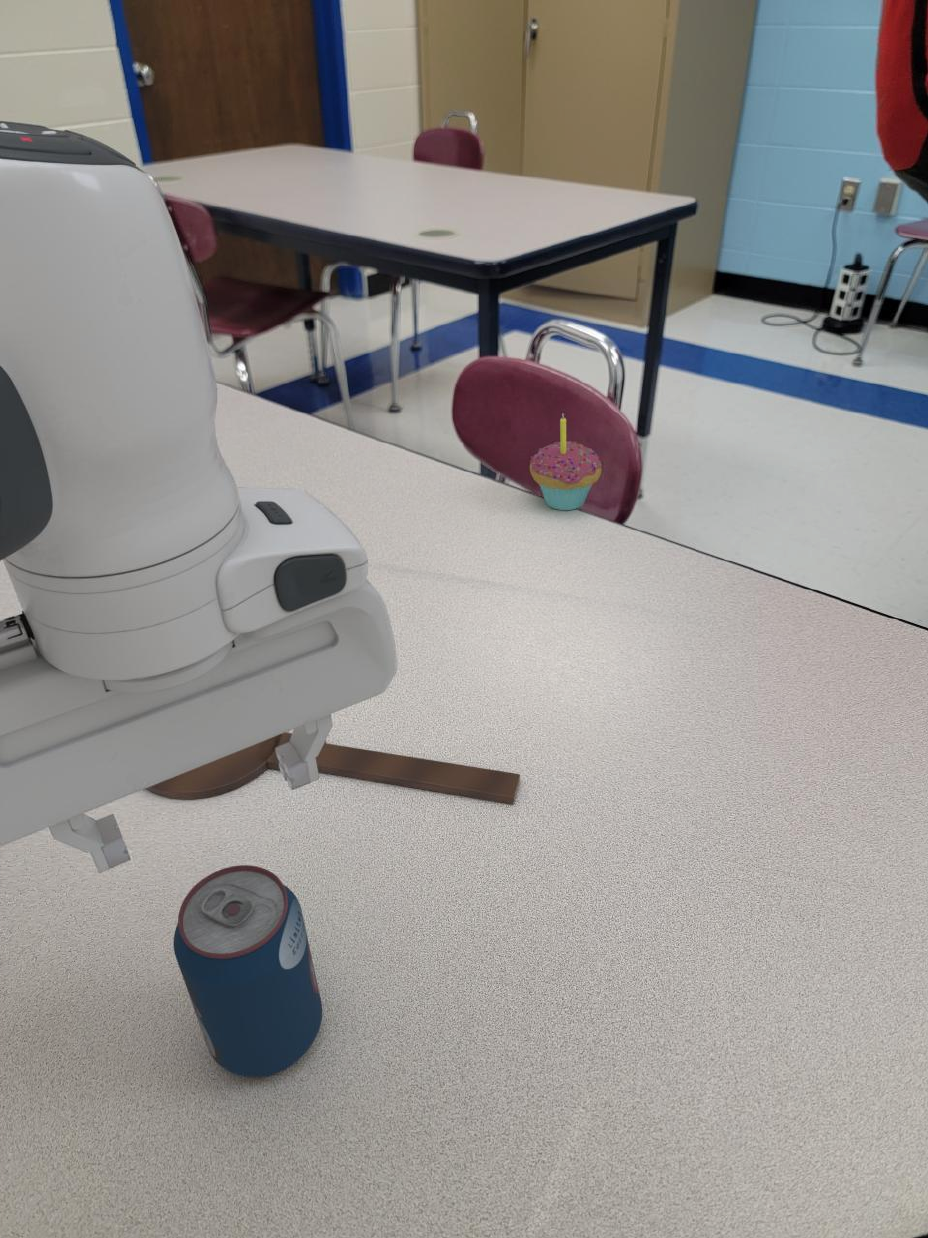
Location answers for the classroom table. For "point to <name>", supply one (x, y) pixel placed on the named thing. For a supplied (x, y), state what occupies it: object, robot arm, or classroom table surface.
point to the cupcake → (565, 471)
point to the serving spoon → (343, 772)
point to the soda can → (248, 970)
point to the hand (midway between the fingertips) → (210, 816)
